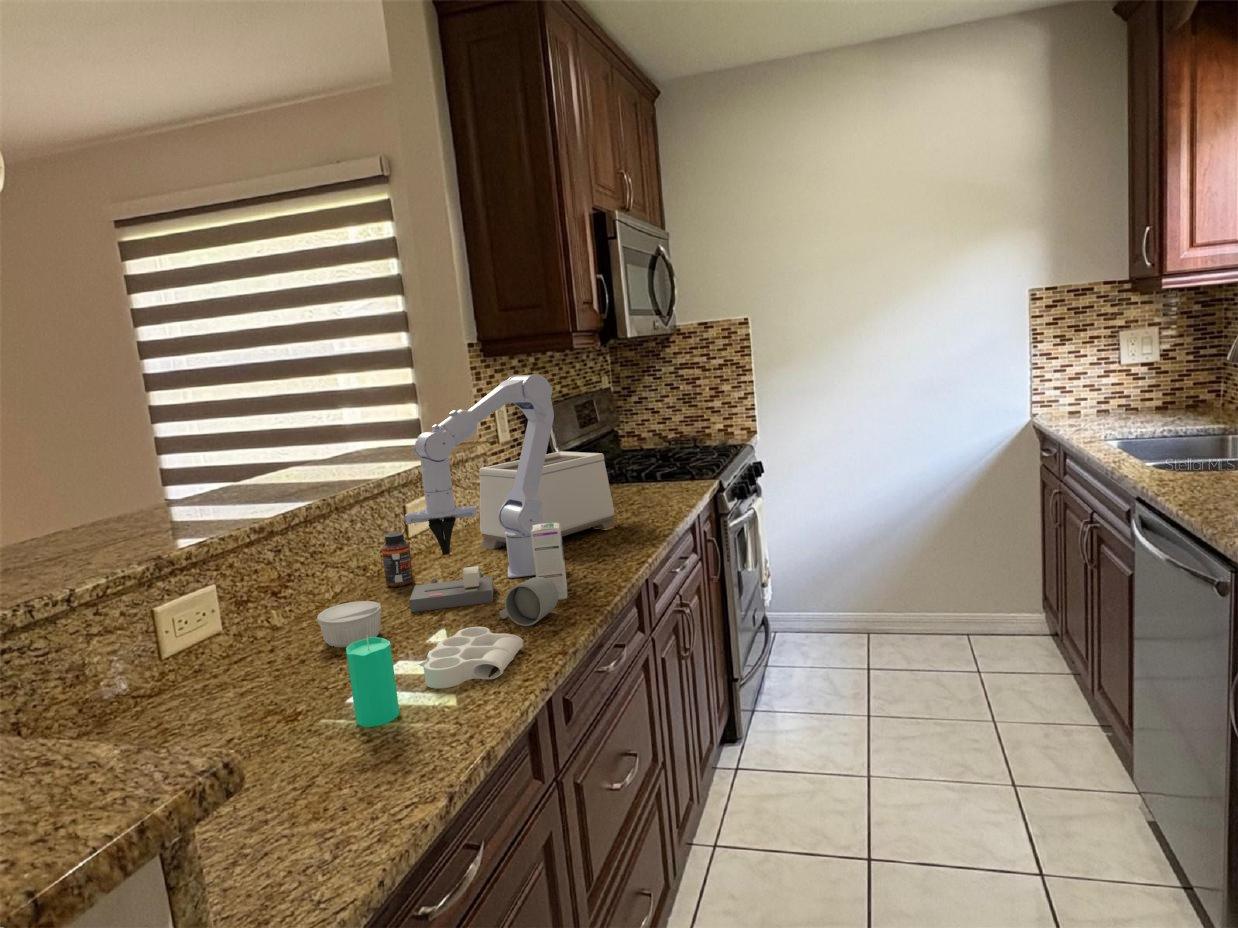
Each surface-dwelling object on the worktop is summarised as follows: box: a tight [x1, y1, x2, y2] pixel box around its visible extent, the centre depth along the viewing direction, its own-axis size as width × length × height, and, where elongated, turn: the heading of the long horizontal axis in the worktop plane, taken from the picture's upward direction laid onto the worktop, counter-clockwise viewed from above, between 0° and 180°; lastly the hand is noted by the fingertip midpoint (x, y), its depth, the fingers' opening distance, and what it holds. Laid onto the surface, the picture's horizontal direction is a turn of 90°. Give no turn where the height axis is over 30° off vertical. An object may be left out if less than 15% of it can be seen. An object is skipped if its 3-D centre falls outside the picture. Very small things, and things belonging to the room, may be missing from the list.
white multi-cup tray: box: [418, 626, 524, 689], centre depth 127 cm, size 3×18×15 cm
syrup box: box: [531, 522, 569, 601], centre depth 157 cm, size 6×6×14 cm
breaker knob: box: [462, 565, 480, 588], centre depth 162 cm, size 3×5×3 cm, turn 8°
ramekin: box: [316, 600, 383, 648], centre depth 144 cm, size 11×11×5 cm
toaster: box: [479, 451, 616, 550], centre depth 209 cm, size 19×34×21 cm, turn 137°
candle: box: [345, 635, 401, 728], centre depth 110 cm, size 6×6×12 cm
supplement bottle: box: [381, 532, 414, 588], centre depth 176 cm, size 6×6×11 cm
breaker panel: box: [409, 572, 495, 613], centre depth 166 cm, size 16×19×3 cm
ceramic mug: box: [499, 576, 559, 627], centre depth 146 cm, size 11×8×8 cm
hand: (446, 553), depth 166 cm, fingers closed
